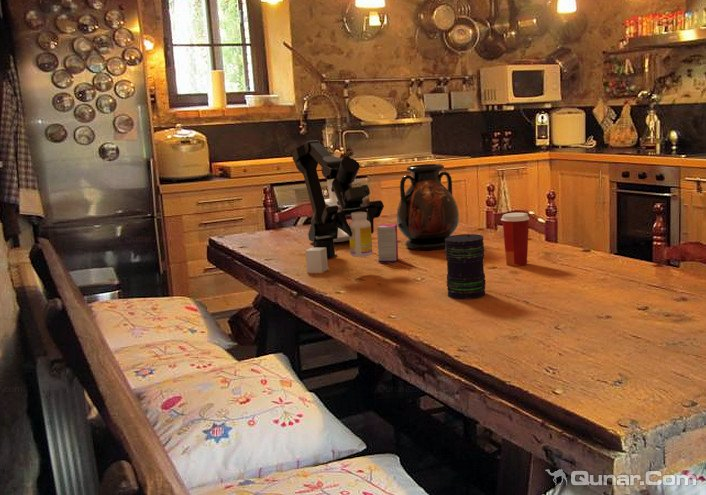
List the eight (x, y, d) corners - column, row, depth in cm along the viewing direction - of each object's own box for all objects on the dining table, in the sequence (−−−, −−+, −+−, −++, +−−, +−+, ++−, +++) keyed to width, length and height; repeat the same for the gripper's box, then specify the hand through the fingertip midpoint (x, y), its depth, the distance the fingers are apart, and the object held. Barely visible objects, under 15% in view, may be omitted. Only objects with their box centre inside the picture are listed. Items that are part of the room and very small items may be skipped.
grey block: (307, 272, 235) (305, 250, 234) (313, 269, 240) (311, 247, 239) (322, 273, 233) (320, 250, 232) (327, 269, 238) (326, 247, 237)
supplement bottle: (375, 253, 231) (373, 211, 228) (368, 257, 224) (366, 214, 222) (354, 252, 233) (352, 211, 230) (347, 257, 227) (344, 214, 224)
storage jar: (476, 301, 189) (474, 241, 186) (440, 298, 194) (438, 240, 191) (491, 291, 197) (489, 234, 194) (456, 289, 202) (454, 233, 200)
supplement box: (396, 262, 242) (394, 226, 239) (378, 262, 243) (375, 227, 241) (399, 258, 247) (397, 223, 245) (381, 259, 248) (378, 224, 246)
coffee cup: (533, 261, 229) (532, 212, 226) (527, 267, 222) (526, 216, 219) (505, 260, 233) (504, 212, 230) (499, 266, 225) (497, 216, 223)
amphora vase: (444, 238, 278) (440, 161, 273) (471, 247, 258) (468, 164, 253) (389, 245, 271) (384, 166, 266) (412, 255, 251) (408, 170, 246)
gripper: (322, 179, 224) (339, 221, 216) (379, 173, 231) (398, 214, 223) (314, 203, 233) (330, 244, 225) (370, 196, 240) (387, 236, 232)
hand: (362, 234), depth 226 cm, fingers closed on supplement bottle, 7 cm apart
